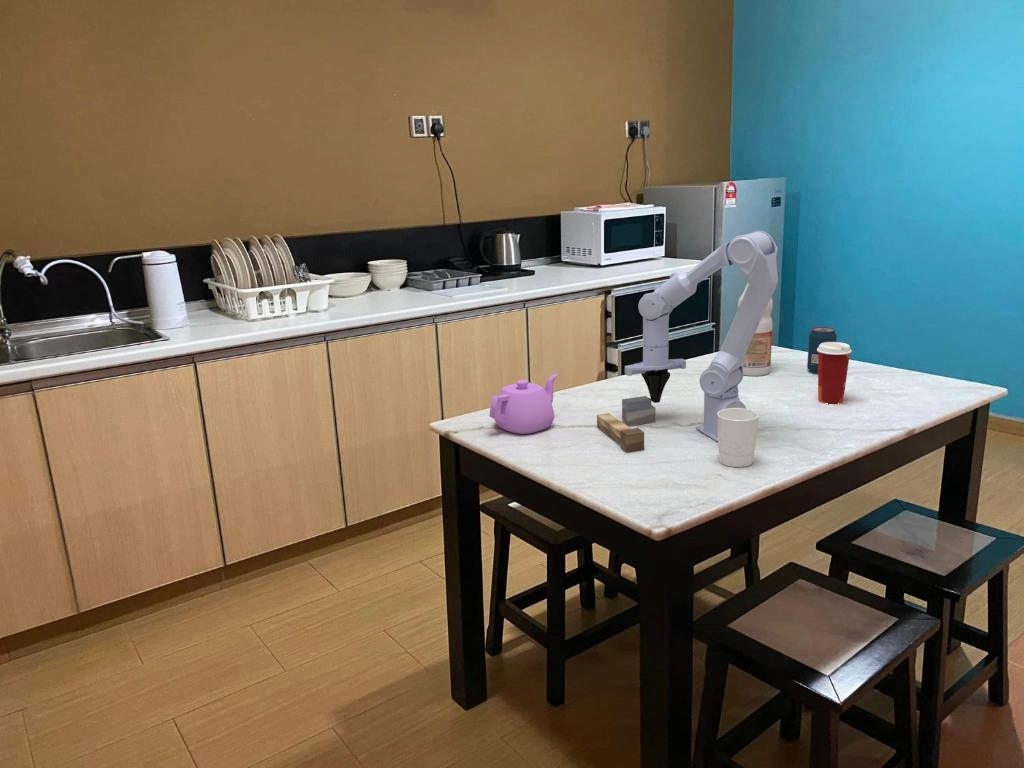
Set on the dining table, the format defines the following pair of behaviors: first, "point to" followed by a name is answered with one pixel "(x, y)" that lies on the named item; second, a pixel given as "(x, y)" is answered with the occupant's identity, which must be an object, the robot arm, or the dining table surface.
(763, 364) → the fruit juice
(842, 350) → the paper cup
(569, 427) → the dining table surface
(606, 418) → the arm
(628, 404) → the bar
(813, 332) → the soda can
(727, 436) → the white cup
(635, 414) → the brown grey blocky piece
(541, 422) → the teapot
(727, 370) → the robot arm
